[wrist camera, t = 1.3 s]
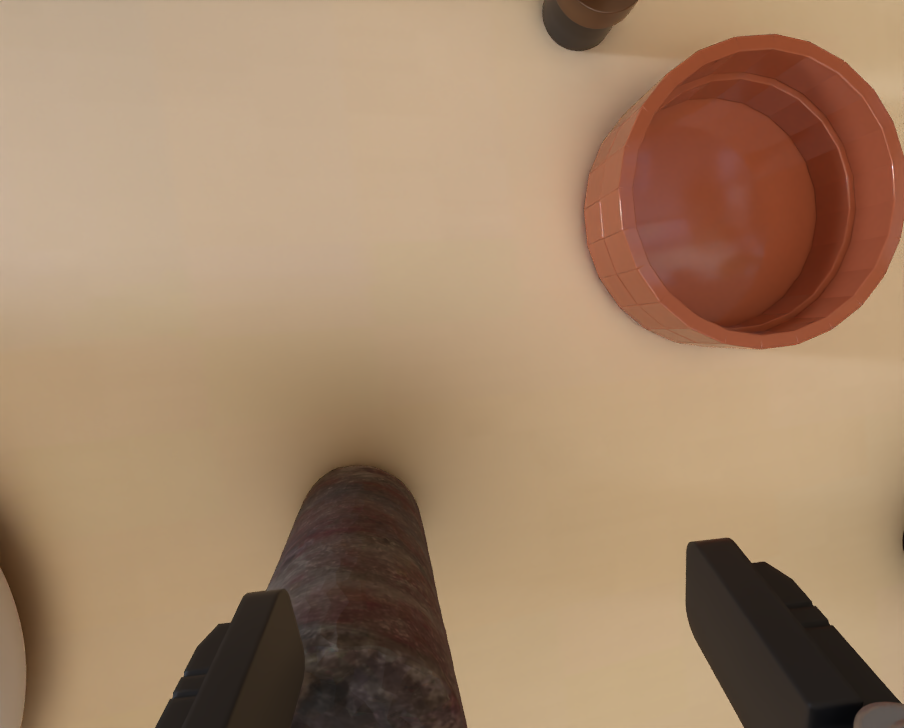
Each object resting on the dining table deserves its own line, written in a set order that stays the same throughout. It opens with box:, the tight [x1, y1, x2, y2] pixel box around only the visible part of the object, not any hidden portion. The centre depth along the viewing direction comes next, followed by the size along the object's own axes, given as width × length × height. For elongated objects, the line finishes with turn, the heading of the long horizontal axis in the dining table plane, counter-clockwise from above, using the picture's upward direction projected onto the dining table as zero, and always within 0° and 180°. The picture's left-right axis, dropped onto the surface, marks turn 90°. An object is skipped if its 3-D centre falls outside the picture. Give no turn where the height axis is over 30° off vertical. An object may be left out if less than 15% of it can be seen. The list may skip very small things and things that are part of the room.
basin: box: [584, 34, 904, 349], centre depth 32 cm, size 17×17×6 cm
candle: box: [266, 466, 467, 728], centre depth 24 cm, size 8×7×20 cm
